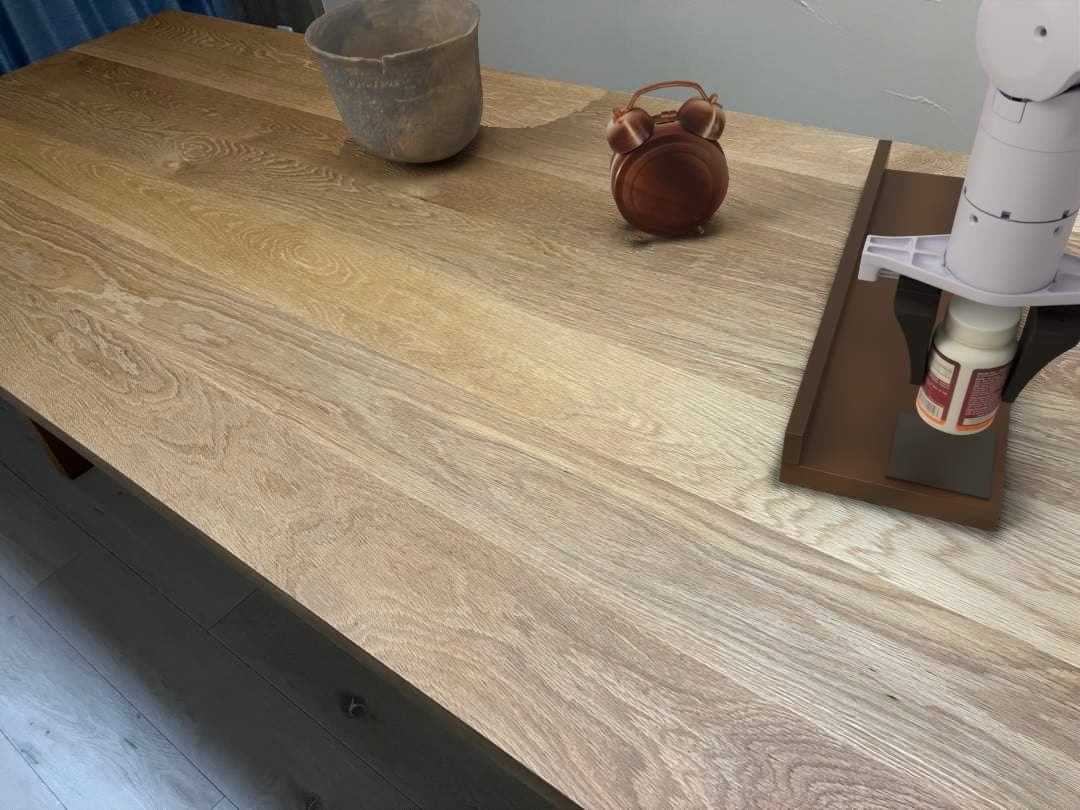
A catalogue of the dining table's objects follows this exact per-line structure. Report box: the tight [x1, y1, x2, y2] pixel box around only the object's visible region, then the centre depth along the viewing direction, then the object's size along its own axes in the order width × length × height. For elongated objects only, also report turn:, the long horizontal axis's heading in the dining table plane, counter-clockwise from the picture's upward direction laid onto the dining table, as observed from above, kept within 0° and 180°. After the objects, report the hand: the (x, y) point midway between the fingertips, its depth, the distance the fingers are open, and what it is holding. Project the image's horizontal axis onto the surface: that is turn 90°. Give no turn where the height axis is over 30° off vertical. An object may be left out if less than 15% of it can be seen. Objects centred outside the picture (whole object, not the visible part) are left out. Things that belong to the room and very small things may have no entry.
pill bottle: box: [916, 294, 1022, 435], centre depth 56 cm, size 5×5×8 cm
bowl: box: [304, 0, 484, 164], centre depth 99 cm, size 18×18×15 cm
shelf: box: [778, 138, 1019, 532], centre depth 74 cm, size 14×41×5 cm, turn 157°
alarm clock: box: [605, 80, 730, 242], centre depth 83 cm, size 11×5×15 cm, turn 94°
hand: (962, 383), depth 57 cm, fingers closed on pill bottle, 5 cm apart
